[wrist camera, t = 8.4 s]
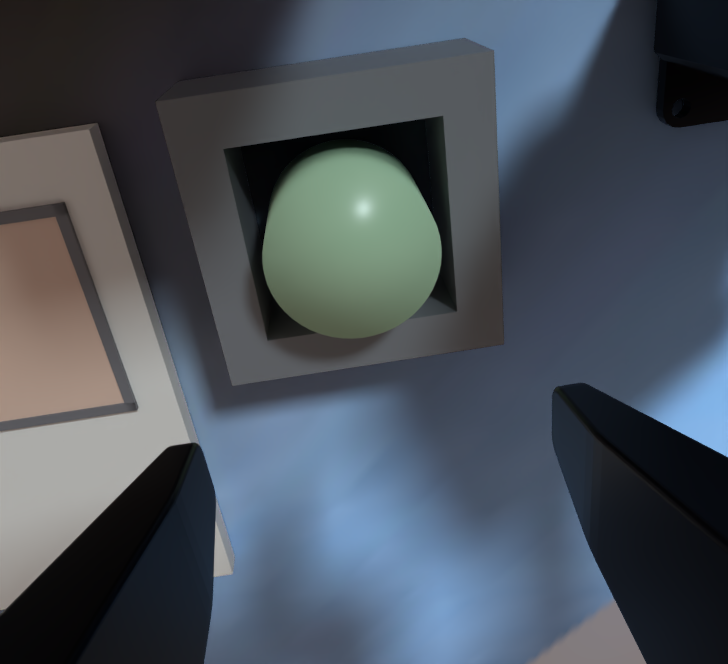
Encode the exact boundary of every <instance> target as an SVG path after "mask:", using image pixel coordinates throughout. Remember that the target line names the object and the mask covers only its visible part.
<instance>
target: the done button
mask: <svg viewBox="0 0 728 664" xmlns="http://www.w3.org/2000/svg"><path fill="white" fill-rule="evenodd" d="M441 258H442V248H441V240H440V235H439V231H438V228H437V225H436V223H435V221H434V218H433V216H432V214H431V212H430V210H429V208H428V206H427V204H426V202H425V201H424V199H423V197H422V195H421V193H420V191H419V189H418V187H417V185H416V183H415V181H414V179H413V177H412V176H411V174H410V173H409V171H408V169H407V168H406V167H405V166H404V165H403V164H402V162H401V161H400V160H398V159H397V158H396V157H395V156H394V155H393V154H391V153H390V152H388V151H387V150H385V149H383V148H381V147H379V146H377V145H375V144H372V143H369V142H366V141H361V140H356V139H337V140H331V141H326V142H323V143H320V144H317V145H314V146H312V147H310V148H308V149H307V150H305V151H303V152H302V153H300V154H299V155H298V156H296V157H295V158H294V159H293V160H292V161H291V162H290V163H289V164H288V165H287V166H286V167H285V169H284V170H283V171H282V173H281V174H280V176H279V177H278V179H277V181H276V183H275V186H274V188H273V191H272V194H271V198H270V203H269V210H268V216H267V223H266V230H265V236H264V243H263V251H262V263H263V270H264V275H265V279H266V282H267V285H268V287H269V289H270V292H271V294H272V295H273V297H274V299H275V300H276V302H277V303H278V304H279V306H280V307H281V308H282V309H283V310H284V312H285V313H287V314H288V315H289V316H290V317H291V318H292V319H293V320H295V321H296V322H298V323H299V324H300V325H302V326H304V327H306V328H308V329H309V330H312V331H314V332H317V333H319V334H322V335H326V336H330V337H336V338H348V339H355V338H365V337H370V336H374V335H378V334H381V333H384V332H386V331H388V330H391V329H393V328H395V327H397V326H398V325H400V324H401V323H403V322H405V321H406V320H407V319H409V318H410V317H411V316H412V315H414V314H415V313H416V311H417V310H418V309H419V308H420V307H421V306H422V305H423V304H424V302H425V301H426V300H427V298H428V297H429V295H430V293H431V292H432V290H433V288H434V286H435V283H436V281H437V278H438V275H439V271H440V266H441Z"/></svg>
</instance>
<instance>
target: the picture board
mask: <svg viewBox="0 0 728 664" xmlns="http://www.w3.org/2000/svg"><path fill="white" fill-rule="evenodd" d="M192 442H195V443H197V444H199V442H198V439H197V436H196V432H195V429H194V426H193V423H192V420H191V417H190V413H189V410H188V407H187V404H186V401H185V398H184V394H183V391H182V388H181V385H180V382H179V379H178V376H177V372H176V369H175V366H174V363H173V360H172V357H171V353H170V350H169V347H168V344H167V341H166V338H165V334H164V331H163V328H162V325H161V322H160V319H159V315H158V312H157V309H156V306H155V303H154V300H153V296H152V293H151V290H150V287H149V284H148V281H147V277H146V274H145V271H144V268H143V265H142V262H141V259H140V255H139V252H138V249H137V246H136V243H135V240H134V236H133V233H132V230H131V227H130V224H129V221H128V217H127V214H126V211H125V208H124V205H123V202H122V198H121V195H120V192H119V189H118V186H117V183H116V179H115V176H114V173H113V170H112V167H111V164H110V160H109V157H108V154H107V151H106V148H105V145H104V142H103V138H102V135H101V132H100V129H99V126H98V123H93V124H86V125H80V126H73V127H66V128H60V129H53V130H47V131H40V132H33V133H27V134H20V135H13V136H7V137H0V610H4V609H6V608H7V607H8V606H9V605H10V604H11V603H12V602H13V601H14V600H15V599H16V598H17V597H18V596H19V595H20V594H21V593H22V592H23V591H24V590H25V589H26V588H27V587H28V586H29V585H30V584H31V583H32V582H33V581H34V580H35V579H36V578H37V577H38V576H39V575H40V574H41V573H42V572H43V571H44V570H45V569H46V568H47V567H48V566H49V565H50V564H51V563H52V562H53V561H54V560H55V559H56V558H57V557H58V556H59V555H60V554H61V553H62V552H63V551H64V550H65V549H66V548H67V547H68V546H69V545H70V544H71V543H72V542H73V541H74V540H75V539H76V538H77V537H78V536H79V535H80V534H81V533H82V532H83V531H84V530H85V529H86V528H87V527H88V526H89V525H90V524H91V523H92V522H93V521H94V520H95V519H96V518H97V517H98V516H99V515H100V514H101V513H102V512H103V511H104V510H105V509H106V508H107V507H108V506H109V505H110V504H111V503H112V502H113V501H114V500H115V499H116V498H117V497H118V496H119V495H120V494H121V493H122V492H123V491H124V490H125V489H126V488H127V487H128V486H129V485H130V484H131V483H132V482H133V481H134V480H135V479H136V478H137V477H138V476H139V475H140V474H141V473H142V472H143V471H144V470H145V469H146V468H147V467H148V466H149V465H150V464H151V463H152V462H153V461H154V460H155V459H156V458H157V457H158V456H159V455H160V454H161V453H162V452H163V451H164V450H165V449H166V448H167V447H169V446H173V445H179V444H186V443H192ZM199 446H200V445H199ZM234 561H235V556H234V553H233V549H232V546H231V543H230V540H229V537H228V534H227V530H226V527H225V524H224V521H223V518H222V515H221V511H220V508H219V505H218V502H217V499H216V521H215V550H214V577H217V576H224V575H230V574H233V569H234Z"/></svg>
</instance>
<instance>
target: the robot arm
mask: <svg viewBox="0 0 728 664" xmlns="http://www.w3.org/2000/svg"><path fill="white" fill-rule="evenodd" d="M654 52H655V53H656V54H657V55H658V56H659V57H660V64H659V77H658V90H657V103H656V112H657V116H658V118H659V120H660V121H661V122H663V123H665V124H667V125H669V126H672V127H686V126H692V125H699V124H705V123H712V122H719V121H725V120H728V0H657V9H656V23H655V37H654ZM679 99H683V103H684V105H683V108H682V110H681V111H680V112H679V113H678V114H676V115H673V113H672V108H673V105H674V104H675V102H676V101H677V100H679ZM552 440H553V446H554V450H555V453H556V456H557V459H558V462H559V465H560V467H561V470H562V473H563V476H564V479H565V481H566V484H567V487H568V490H569V493H570V495H571V498H572V501H573V504H574V507H575V510H576V512H577V515H578V518H579V521H580V524H581V526H582V529H583V532H584V535H585V537H586V540H587V542H588V545H589V548H590V550H591V552H592V554H593V556H594V558H595V561H596V563H597V565H598V567H599V569H600V571H601V573H602V575H603V577H604V579H605V581H606V583H607V585H608V587H609V589H610V591H611V593H612V595H613V597H614V599H615V601H616V603H617V605H618V607H619V609H620V611H621V613H622V615H623V617H624V619H625V621H626V623H627V625H628V627H629V629H630V631H631V633H632V635H633V637H634V639H635V641H636V643H637V645H638V647H639V649H640V651H641V653H642V655H643V657H644V659H645V661H646V663H647V664H728V457H726V456H724V455H723V454H721V453H719V452H717V451H715V450H713V449H711V448H709V447H707V446H705V445H703V444H701V443H699V442H698V441H696V440H694V439H692V438H690V437H688V436H686V435H684V434H682V433H680V432H678V431H676V430H674V429H672V428H671V427H669V426H667V425H665V424H663V423H661V422H659V421H657V420H655V419H653V418H651V417H649V416H647V415H645V414H644V413H642V412H640V411H638V410H636V409H634V408H632V407H630V406H628V405H626V404H624V403H622V402H620V401H618V400H617V399H615V398H613V397H611V396H609V395H607V394H605V393H603V392H601V391H599V390H597V389H595V388H593V387H591V386H590V385H587V384H585V383H576V384H570V385H564V386H558V387H556V388H555V389H554V391H553V395H552ZM215 521H216V496H215V490H214V486H213V482H212V479H211V476H210V473H209V470H208V467H207V463H206V460H205V457H204V454H203V451H202V449H201V447H200V446H199V444H197V443H195V442H192V443H186V444H179V445H173V446H169V447H167V448H166V449H165V450H164V451H163V452H162V453H161V454H160V455H159V456H158V457H157V458H156V459H155V460H154V461H153V462H152V463H151V464H150V465H149V466H148V467H147V468H146V469H145V470H144V471H143V472H142V473H141V474H140V475H139V476H138V477H137V478H136V479H135V480H134V481H133V482H132V483H131V484H130V485H129V486H128V487H127V488H126V489H125V490H124V491H123V492H122V493H121V494H120V495H119V496H118V497H117V498H116V499H115V500H114V501H113V502H112V503H111V504H110V505H109V506H108V507H107V508H106V509H105V510H104V511H103V512H102V513H101V514H100V515H99V516H98V517H97V518H96V519H95V520H94V521H93V522H92V523H91V524H90V525H89V526H88V527H87V528H86V529H85V530H84V531H83V532H82V533H81V534H80V535H79V536H78V537H77V538H76V539H75V540H74V541H73V542H72V543H71V544H70V545H69V546H68V547H67V548H66V549H65V550H64V551H63V552H62V553H61V554H60V555H59V556H58V557H57V558H56V559H55V560H54V561H53V562H52V563H51V564H50V565H49V566H48V567H47V568H46V569H45V570H44V571H43V572H42V573H41V574H40V575H39V576H38V577H37V578H36V579H35V580H34V581H33V582H32V583H31V584H30V585H29V586H28V587H27V588H26V589H25V590H24V591H23V592H22V593H21V594H20V595H19V596H18V597H17V598H16V599H15V600H14V601H13V602H12V603H11V604H10V605H9V606H8V607H7V608H6V609H5V610H4V611H3V612H2V613H1V614H0V664H204V659H205V652H206V646H207V639H208V633H209V627H210V619H211V611H212V601H213V580H214V550H215Z"/></svg>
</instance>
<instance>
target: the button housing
mask: <svg viewBox="0 0 728 664" xmlns="http://www.w3.org/2000/svg"><path fill="white" fill-rule="evenodd" d="M155 103H156V107H157V111H158V114H159V118H160V122H161V126H162V129H163V133H164V137H165V140H166V144H167V148H168V151H169V155H170V159H171V162H172V166H173V170H174V173H175V177H176V181H177V184H178V188H179V192H180V195H181V199H182V203H183V206H184V210H185V214H186V218H187V221H188V225H189V229H190V232H191V236H192V240H193V243H194V247H195V251H196V254H197V258H198V262H199V265H200V269H201V273H202V276H203V280H204V284H205V287H206V291H207V295H208V299H209V302H210V306H211V310H212V313H213V317H214V321H215V324H216V328H217V332H218V335H219V339H220V343H221V346H222V350H223V354H224V357H225V361H226V365H227V368H228V372H229V376H230V380H231V383H232V386H236V385H242V384H249V383H255V382H262V381H268V380H275V379H281V378H288V377H294V376H301V375H308V374H314V373H321V372H327V371H334V370H340V369H347V368H353V367H360V366H366V365H373V364H379V363H386V362H392V361H399V360H405V359H412V358H418V357H425V356H431V355H438V354H444V353H451V352H457V351H464V350H471V349H477V348H484V347H490V346H497V345H503V344H504V325H503V296H502V267H501V238H500V209H499V180H498V151H497V122H496V93H495V64H494V50H491V49H489V48H487V47H484V46H482V45H480V44H478V43H475V42H473V41H471V40H468V39H466V38H462V39H455V40H448V41H442V42H435V43H429V44H422V45H415V46H409V47H402V48H395V49H389V50H382V51H376V52H369V53H362V54H356V55H349V56H342V57H336V58H329V59H323V60H316V61H309V62H303V63H296V64H290V65H283V66H276V67H270V68H263V69H256V70H250V71H243V72H237V73H230V74H223V75H217V76H210V77H203V78H197V79H190V80H184V81H178V82H177V83H176V84H175V85H173V86H172V87H171V88H170V89H169V90H168V91H167V92H166V93H165V94H163V95H162V96H161V97H160V98H159V99H158V100H157V101H156V102H155ZM418 119H425V127H426V138H427V150H428V162H429V174H430V185H431V197H432V209H433V218H434V221H435V223H436V225H437V228H438V231H439V235H440V240H441V248H442V258H441V266H440V271H439V275H438V278H437V281H436V283H435V286H434V288H433V290H432V292H431V293H430V295H429V297H428V298H427V300H426V301H425V302H424V304H423V305H422V306H421V307H420V308H419V309H418V310H417V311H416V313H415V314H414V315H412V316H411V317H410V318H409V319H407V320H406V321H405V322H403V323H401V324H400V325H398V326H397V327H395V328H393V329H391V330H388V331H386V332H384V333H381V334H378V335H374V336H370V337H365V338H355V339H348V338H336V337H330V336H326V335H322V334H319V333H317V332H314V331H312V330H309V329H308V328H306V327H304V326H302V325H300V324H299V323H298V322H296V321H295V320H293V319H292V318H291V317H290V316H289V315H288V314H287V313H285V312H284V310H283V309H282V308H281V307H280V306H279V304H278V303H277V302H276V300H275V299H274V297H273V295H272V294H271V292H270V289H269V287H268V285H267V282H266V279H265V275H264V270H263V263H262V251H263V247H262V242H261V238H260V233H259V228H258V224H257V219H256V215H255V210H254V206H253V201H252V196H251V192H250V187H249V183H248V178H247V174H246V169H245V165H244V160H243V155H242V151H241V146H247V145H253V144H260V143H267V142H273V141H280V140H286V139H293V138H300V137H306V136H313V135H319V134H326V133H333V132H339V131H346V130H352V129H359V128H366V127H372V126H379V125H385V124H392V123H399V122H405V121H412V120H418Z"/></svg>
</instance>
